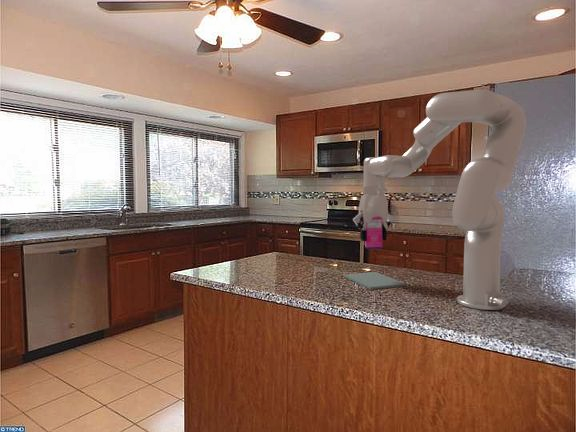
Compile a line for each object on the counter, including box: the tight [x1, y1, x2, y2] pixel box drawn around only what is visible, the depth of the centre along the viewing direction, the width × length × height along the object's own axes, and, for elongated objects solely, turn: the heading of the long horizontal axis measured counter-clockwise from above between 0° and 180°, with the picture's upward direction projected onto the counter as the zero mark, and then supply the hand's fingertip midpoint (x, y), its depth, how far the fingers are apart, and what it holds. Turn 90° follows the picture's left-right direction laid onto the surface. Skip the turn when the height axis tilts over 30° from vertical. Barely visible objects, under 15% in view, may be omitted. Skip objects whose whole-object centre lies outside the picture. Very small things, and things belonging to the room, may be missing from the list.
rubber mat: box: [343, 271, 407, 290], centre depth 141 cm, size 20×14×1 cm
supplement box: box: [364, 217, 383, 250], centre depth 140 cm, size 6×6×12 cm
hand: (373, 239), depth 140 cm, fingers closed on supplement box, 7 cm apart
